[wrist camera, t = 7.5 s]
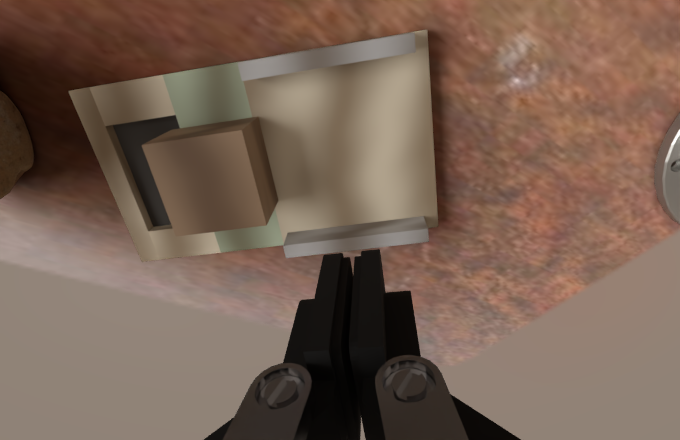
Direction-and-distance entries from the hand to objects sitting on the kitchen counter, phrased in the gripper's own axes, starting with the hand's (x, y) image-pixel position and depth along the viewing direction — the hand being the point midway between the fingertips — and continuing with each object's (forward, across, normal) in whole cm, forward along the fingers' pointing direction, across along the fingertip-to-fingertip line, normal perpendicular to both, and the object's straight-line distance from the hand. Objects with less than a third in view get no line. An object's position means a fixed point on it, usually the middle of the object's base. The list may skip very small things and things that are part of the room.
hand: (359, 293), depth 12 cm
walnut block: (+16, +10, 0) cm, 18 cm away
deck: (+17, +7, 0) cm, 18 cm away
